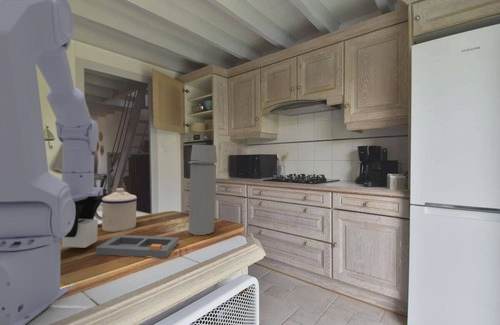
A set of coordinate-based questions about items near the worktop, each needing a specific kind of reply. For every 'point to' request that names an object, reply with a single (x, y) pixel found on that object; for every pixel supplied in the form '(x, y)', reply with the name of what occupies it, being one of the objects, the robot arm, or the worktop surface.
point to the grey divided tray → (138, 246)
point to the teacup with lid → (118, 211)
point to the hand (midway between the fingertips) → (77, 233)
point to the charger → (83, 234)
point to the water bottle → (202, 189)
